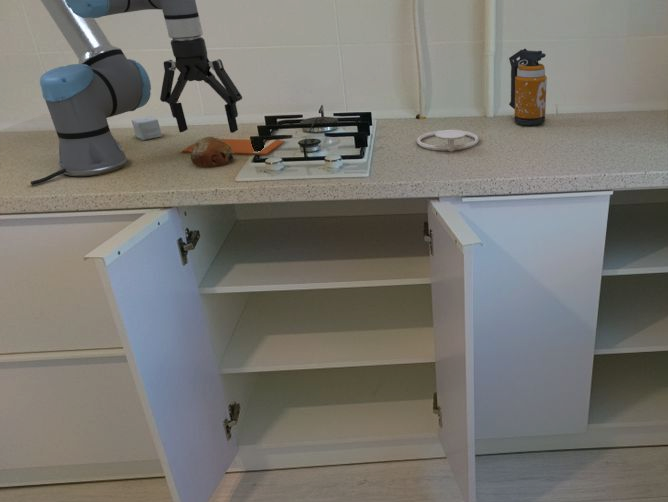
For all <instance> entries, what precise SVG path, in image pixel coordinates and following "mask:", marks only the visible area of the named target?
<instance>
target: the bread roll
mask: <svg viewBox="0 0 668 502" xmlns="http://www.w3.org/2000/svg"><path fill="white" fill-rule="evenodd" d="M220 139H221V138H217V137H213V136H206V137H203V138H201V139H199V140H197V141H196V142H194V143H193V144H194V145H193V144H192V145H193V147H192V150H191V153H189V154H190V160H191V162H192V164H193V165H194V166H196V167H198V168H206V169H207V168H218V167H224V166H226V165H229V164H230V163H232V162H233V159H234V155H235V154H234V153H233V152H232V150H231V147H230V146H228V145H227V144H226V143H225V142H224V141H222V140H220Z"/></svg>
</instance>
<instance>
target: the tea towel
mask: <svg viewBox="0 0 668 502" xmlns="http://www.w3.org/2000/svg"><path fill="white" fill-rule="evenodd" d="M219 139H220V140H222V141H224V142H225V143H226V144H227V145H228V146H230V147H231V150H232V152H233V153H234V154H233V155H246V156H247V155H248V156H249V155H250V156H267V155H269V154H270V153H272V152H273V151H274V150H276V149H277V148H278V147H281V146H282V145H283V144H284V143H285V140H282V139H281V140H277V139H266V140H267V141H266V142H265V145H264V148H263V149H262V150H261V151H258V152H255V151H254V149H253V147H252V144H251V140H252V139H231V138H219ZM194 144H195V143H193V144H191V145H189V146H188V147H186V148H184V149H182V150H181V153H182V154H191V150H192V147H193V145H194Z"/></svg>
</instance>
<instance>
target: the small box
mask: <svg viewBox="0 0 668 502" xmlns="http://www.w3.org/2000/svg"><path fill="white" fill-rule="evenodd" d="M131 125H132V128H133V131H134V134H135V137H136V138H138V139H139V140H142V141H145V140H151V139H155V138H160V137H163V134H162V131H161V127H160V123H159V119H157V118H155V117H152V116H147V117H142V118H137V119H136V118H135V119H132V120H131Z"/></svg>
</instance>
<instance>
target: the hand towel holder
mask: <svg viewBox="0 0 668 502" xmlns="http://www.w3.org/2000/svg"><path fill="white" fill-rule="evenodd" d="M430 137H436V138H437V139H440V140H443V141H447V145H434V144H428V143H424V142H423V141H422V140H423V139H426V138H430ZM465 137H469V138H472V139H474V140H473V141H471V142H467V143H464V144H463V143H462V144H455V142H454V141H455V140H460V139H462V138H465ZM479 141H480V140H479V137H478V135H477V134H475V133H473V132H470V131H468V130H467V131H465V130H460V129H444V130H435V131H428V132H425V133H422V134H421V135H419V136H418V137H417V138H416V143H417V144H418V146H419V147H421V148H423V149H427V150H430V151H431V150H433V151H442V152H443V151H448V152H449V153H451V152H454V151H460V150H466V149H469V148H472V147H474V146H476V145H477V144H478V143H479Z"/></svg>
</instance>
